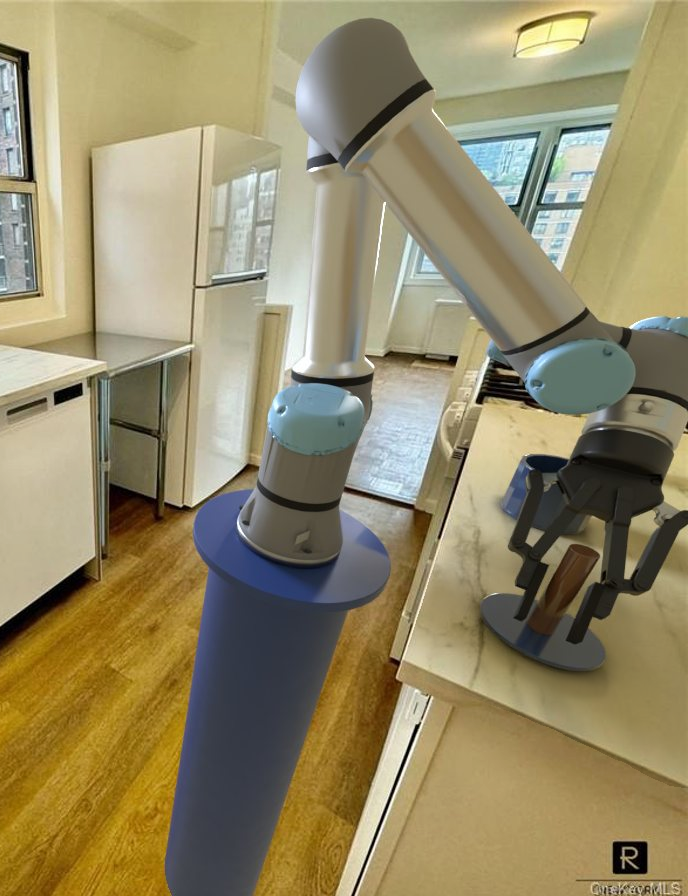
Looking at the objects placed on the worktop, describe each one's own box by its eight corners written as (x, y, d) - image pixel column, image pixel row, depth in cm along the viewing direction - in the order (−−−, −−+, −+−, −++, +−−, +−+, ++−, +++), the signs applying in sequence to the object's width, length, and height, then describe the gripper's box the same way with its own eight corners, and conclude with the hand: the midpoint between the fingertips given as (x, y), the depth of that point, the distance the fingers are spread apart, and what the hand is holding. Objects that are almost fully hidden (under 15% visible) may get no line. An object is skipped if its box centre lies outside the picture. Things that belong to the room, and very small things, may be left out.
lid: (468, 633, 56) (510, 550, 50) (486, 586, 63) (524, 508, 57) (599, 694, 49) (664, 605, 43) (603, 634, 56) (659, 551, 50)
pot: (495, 514, 77) (516, 468, 74) (505, 491, 84) (526, 448, 80) (581, 543, 71) (609, 494, 67) (585, 515, 77) (611, 469, 74)
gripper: (536, 408, 57) (455, 583, 54) (761, 454, 46) (676, 676, 43) (524, 435, 63) (450, 595, 60) (722, 482, 52) (644, 680, 49)
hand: (545, 628), depth 52 cm, fingers open, 4 cm apart
